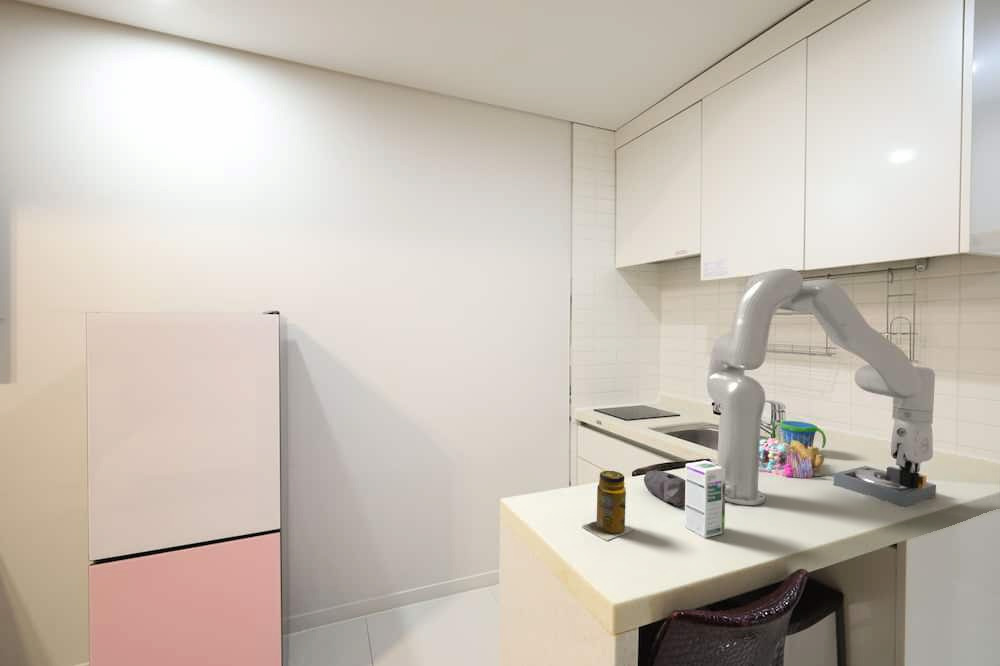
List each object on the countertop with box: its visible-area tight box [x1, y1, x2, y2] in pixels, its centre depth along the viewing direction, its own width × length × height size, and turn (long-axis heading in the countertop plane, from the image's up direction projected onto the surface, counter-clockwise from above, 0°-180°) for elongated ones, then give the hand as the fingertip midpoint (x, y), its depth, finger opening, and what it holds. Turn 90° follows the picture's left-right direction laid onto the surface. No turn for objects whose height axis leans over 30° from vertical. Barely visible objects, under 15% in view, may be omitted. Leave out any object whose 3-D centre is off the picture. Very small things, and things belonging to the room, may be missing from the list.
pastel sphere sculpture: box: [759, 437, 825, 480], centre depth 142 cm, size 25×24×9 cm
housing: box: [833, 465, 937, 508], centre depth 122 cm, size 16×16×3 cm
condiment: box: [581, 470, 634, 542], centre depth 97 cm, size 7×8×12 cm
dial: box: [855, 466, 927, 491], centre depth 121 cm, size 15×12×5 cm
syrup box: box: [684, 460, 726, 539], centre depth 97 cm, size 6×6×14 cm
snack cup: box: [771, 420, 827, 449], centre depth 155 cm, size 16×10×10 cm
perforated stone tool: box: [643, 470, 686, 507], centre depth 114 cm, size 15×5×7 cm, turn 22°
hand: (908, 486), depth 114 cm, fingers closed
